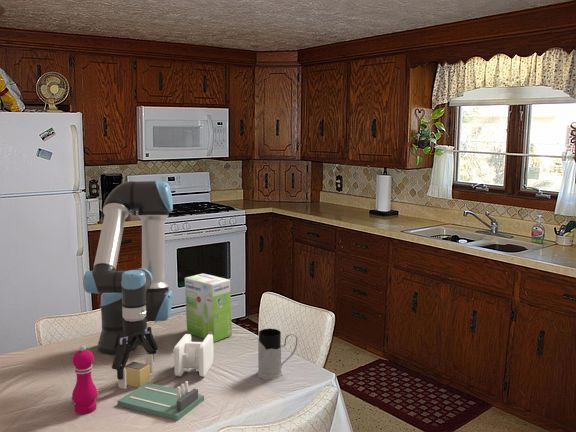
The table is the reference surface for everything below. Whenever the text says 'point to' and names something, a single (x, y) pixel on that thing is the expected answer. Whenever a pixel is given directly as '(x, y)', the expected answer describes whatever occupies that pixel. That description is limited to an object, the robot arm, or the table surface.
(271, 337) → the grey mug
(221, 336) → the toothbrush box
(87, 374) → the pepper mill
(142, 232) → the robot arm
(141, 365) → the plug block
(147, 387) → the board
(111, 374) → the table surface
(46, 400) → the table surface
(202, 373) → the cable organizer
